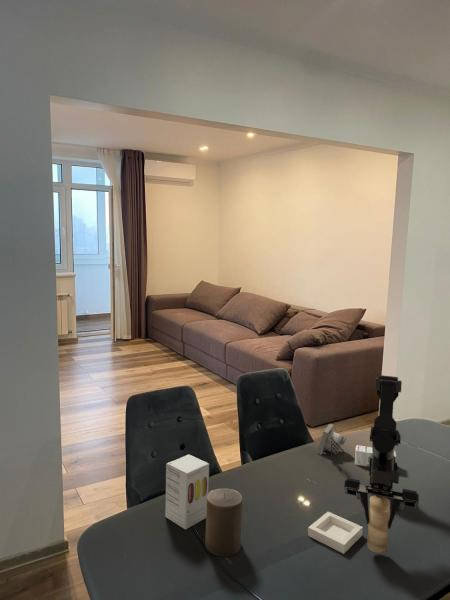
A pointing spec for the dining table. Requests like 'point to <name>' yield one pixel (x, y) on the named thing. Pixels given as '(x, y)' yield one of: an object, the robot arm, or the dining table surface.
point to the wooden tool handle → (378, 523)
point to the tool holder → (335, 532)
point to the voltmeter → (331, 443)
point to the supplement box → (186, 490)
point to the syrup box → (364, 455)
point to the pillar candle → (223, 522)
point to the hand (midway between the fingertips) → (378, 526)
